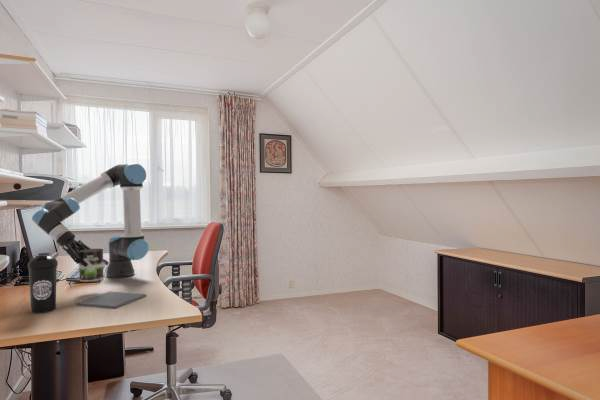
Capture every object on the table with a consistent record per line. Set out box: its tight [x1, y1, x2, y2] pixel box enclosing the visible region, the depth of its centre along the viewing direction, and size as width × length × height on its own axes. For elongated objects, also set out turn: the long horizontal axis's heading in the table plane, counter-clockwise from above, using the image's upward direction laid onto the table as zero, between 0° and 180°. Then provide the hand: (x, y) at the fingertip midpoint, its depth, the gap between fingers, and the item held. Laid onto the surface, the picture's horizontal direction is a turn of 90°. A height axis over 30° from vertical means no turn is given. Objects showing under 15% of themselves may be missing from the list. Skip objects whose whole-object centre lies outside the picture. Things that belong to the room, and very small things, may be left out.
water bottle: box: [27, 252, 59, 314], centre depth 158 cm, size 10×10×23 cm
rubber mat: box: [75, 291, 147, 309], centre depth 172 cm, size 20×20×1 cm
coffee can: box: [78, 248, 104, 283], centre depth 185 cm, size 10×10×14 cm
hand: (98, 267), depth 186 cm, fingers closed on coffee can, 10 cm apart
